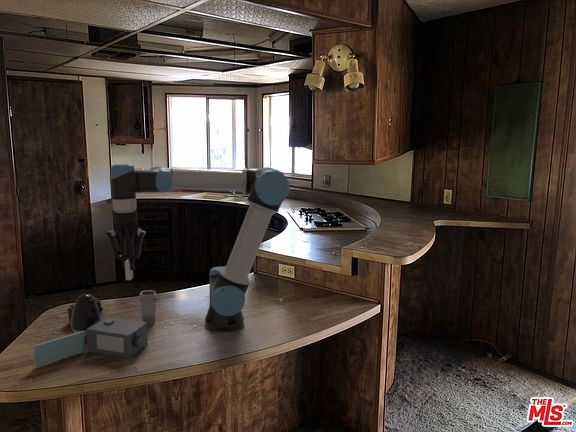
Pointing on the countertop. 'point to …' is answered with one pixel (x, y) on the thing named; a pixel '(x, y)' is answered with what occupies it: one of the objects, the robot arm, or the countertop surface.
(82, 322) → the black egg shape
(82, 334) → the side door
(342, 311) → the countertop surface
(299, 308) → the countertop surface
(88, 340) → the box
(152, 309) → the cup
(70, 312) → the camera
